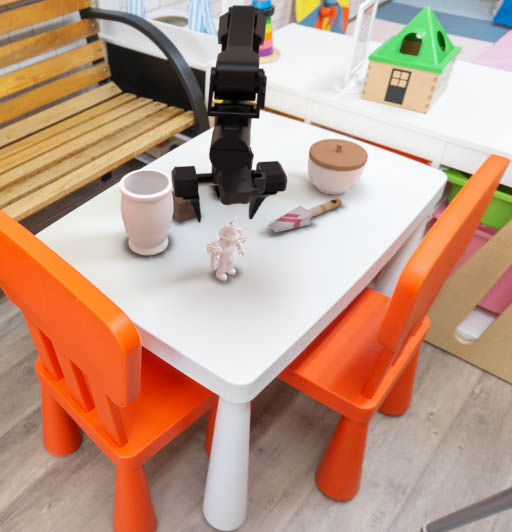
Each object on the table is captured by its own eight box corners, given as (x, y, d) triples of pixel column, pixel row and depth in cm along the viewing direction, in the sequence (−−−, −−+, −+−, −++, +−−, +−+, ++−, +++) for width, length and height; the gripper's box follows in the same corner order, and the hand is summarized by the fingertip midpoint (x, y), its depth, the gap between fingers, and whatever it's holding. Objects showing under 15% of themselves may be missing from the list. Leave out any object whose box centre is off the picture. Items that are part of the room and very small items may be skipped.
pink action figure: (234, 259, 106) (239, 210, 98) (248, 269, 104) (255, 219, 96) (200, 278, 102) (203, 228, 94) (214, 289, 100) (218, 239, 92)
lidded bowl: (331, 167, 131) (341, 126, 124) (370, 191, 122) (382, 148, 115) (291, 181, 127) (299, 139, 119) (329, 207, 118) (339, 164, 111)
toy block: (187, 205, 121) (188, 186, 118) (198, 216, 117) (199, 197, 114) (168, 210, 119) (168, 192, 116) (178, 222, 116) (179, 203, 113)
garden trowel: (266, 218, 111) (334, 192, 119) (264, 229, 112) (331, 203, 120) (278, 227, 108) (347, 200, 116) (276, 238, 110) (344, 211, 118)
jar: (145, 222, 116) (142, 162, 106) (183, 240, 111) (184, 178, 101) (113, 247, 110) (107, 185, 100) (152, 266, 105) (150, 204, 95)
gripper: (178, 169, 78) (177, 251, 88) (303, 162, 78) (288, 244, 88) (171, 134, 86) (171, 213, 96) (284, 128, 87) (272, 207, 97)
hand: (224, 219), depth 94 cm, fingers open, 9 cm apart
